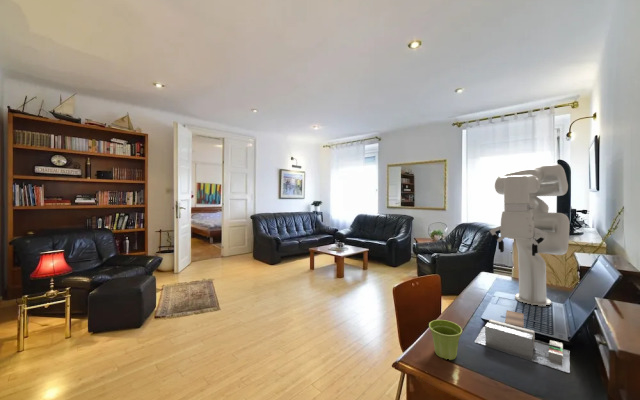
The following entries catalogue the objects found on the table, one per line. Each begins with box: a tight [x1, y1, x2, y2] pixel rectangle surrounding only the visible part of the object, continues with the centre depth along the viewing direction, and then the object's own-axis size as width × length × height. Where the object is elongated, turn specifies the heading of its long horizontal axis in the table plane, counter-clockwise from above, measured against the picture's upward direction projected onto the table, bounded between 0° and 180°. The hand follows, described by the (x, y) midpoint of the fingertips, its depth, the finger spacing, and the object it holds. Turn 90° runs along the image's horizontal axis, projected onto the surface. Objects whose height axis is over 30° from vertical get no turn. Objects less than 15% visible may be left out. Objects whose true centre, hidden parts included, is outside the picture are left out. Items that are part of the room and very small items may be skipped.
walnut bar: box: [504, 310, 525, 328], centre depth 92 cm, size 12×5×5 cm, turn 142°
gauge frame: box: [474, 322, 571, 375], centre depth 83 cm, size 13×23×6 cm, turn 46°
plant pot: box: [428, 319, 463, 361], centre depth 81 cm, size 9×9×9 cm
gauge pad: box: [488, 318, 560, 349], centre depth 84 cm, size 2×18×5 cm, turn 46°
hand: (517, 253), depth 98 cm, fingers open, 9 cm apart
